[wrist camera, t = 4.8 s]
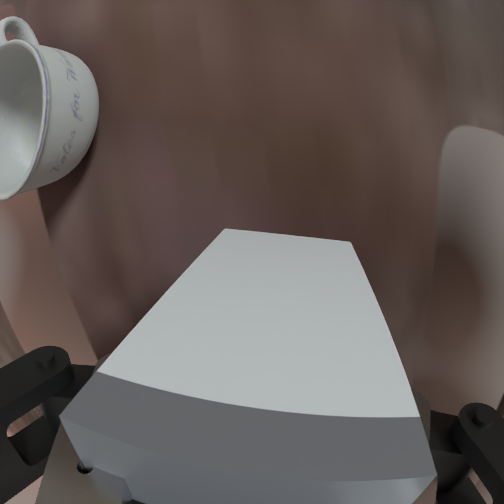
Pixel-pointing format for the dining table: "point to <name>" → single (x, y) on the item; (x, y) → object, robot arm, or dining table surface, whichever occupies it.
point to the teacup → (41, 111)
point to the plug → (258, 386)
